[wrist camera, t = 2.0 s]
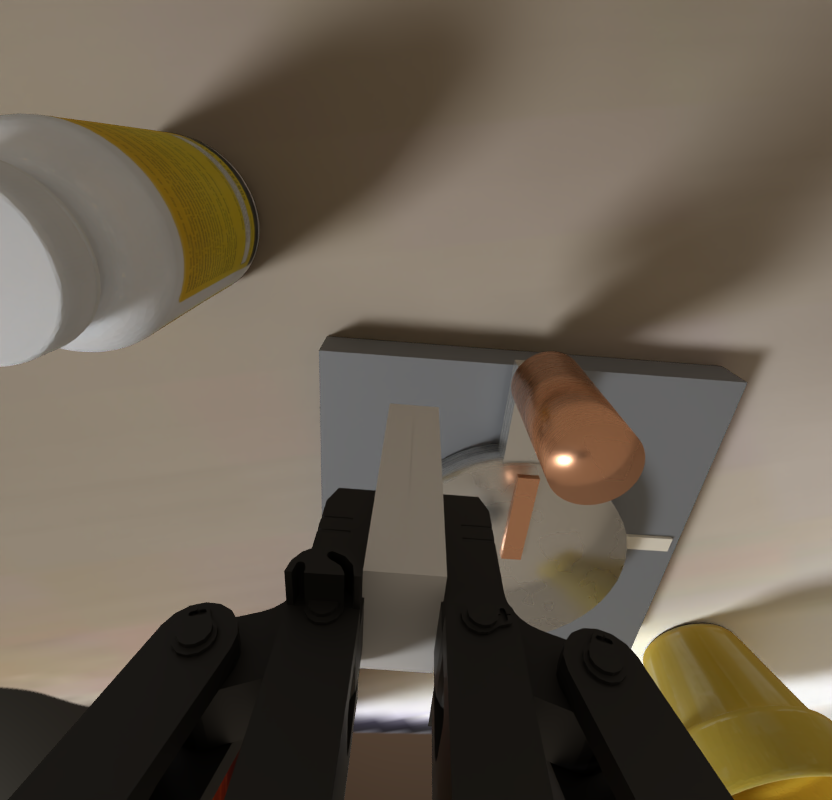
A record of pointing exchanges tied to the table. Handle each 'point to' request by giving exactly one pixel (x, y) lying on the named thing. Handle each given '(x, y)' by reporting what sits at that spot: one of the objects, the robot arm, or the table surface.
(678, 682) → the plant pot
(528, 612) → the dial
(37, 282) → the pill bottle
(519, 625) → the robot arm
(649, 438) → the base plate
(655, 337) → the table surface
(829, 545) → the table surface
